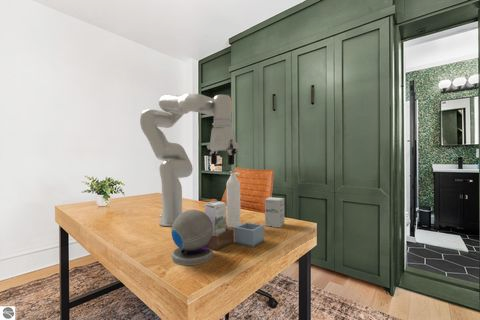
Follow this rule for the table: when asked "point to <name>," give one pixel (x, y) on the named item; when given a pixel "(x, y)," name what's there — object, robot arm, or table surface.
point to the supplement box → (274, 212)
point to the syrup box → (217, 216)
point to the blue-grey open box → (249, 234)
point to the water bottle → (233, 201)
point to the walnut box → (221, 240)
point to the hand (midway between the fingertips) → (222, 164)
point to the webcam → (192, 238)
